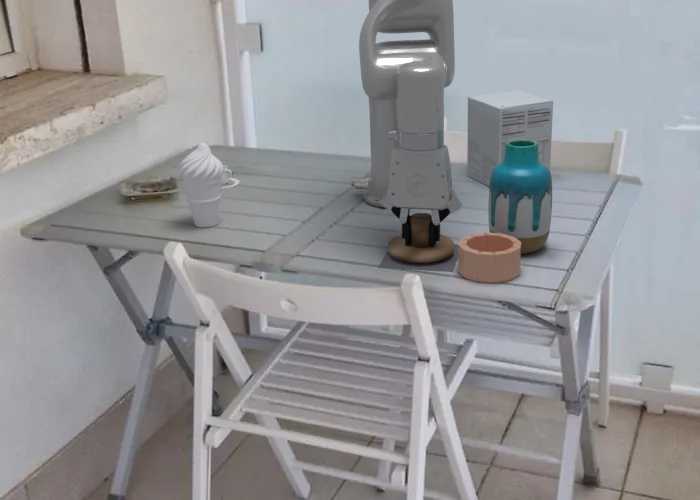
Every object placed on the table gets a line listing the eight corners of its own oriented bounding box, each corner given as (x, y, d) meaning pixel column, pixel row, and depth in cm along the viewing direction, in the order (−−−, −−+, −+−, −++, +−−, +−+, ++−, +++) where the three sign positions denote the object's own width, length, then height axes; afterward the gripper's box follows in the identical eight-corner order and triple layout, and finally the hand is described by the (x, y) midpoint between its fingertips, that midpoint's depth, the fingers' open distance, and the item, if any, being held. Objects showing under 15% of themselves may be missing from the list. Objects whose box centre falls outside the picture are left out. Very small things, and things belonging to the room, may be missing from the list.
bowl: (454, 284, 150) (454, 252, 148) (463, 261, 159) (463, 231, 157) (517, 288, 148) (518, 256, 146) (522, 264, 156) (523, 234, 154)
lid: (381, 260, 157) (381, 226, 155) (395, 235, 167) (395, 203, 165) (448, 264, 154) (448, 230, 152) (458, 239, 164) (458, 207, 162)
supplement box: (551, 182, 198) (555, 100, 192) (497, 192, 193) (499, 108, 187) (517, 167, 209) (520, 89, 203) (465, 175, 205) (466, 96, 199)
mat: (378, 270, 157) (378, 266, 156) (393, 243, 168) (393, 240, 167) (452, 274, 154) (452, 271, 153) (463, 247, 165) (463, 244, 164)
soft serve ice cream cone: (192, 234, 176) (184, 151, 170) (178, 221, 183) (170, 141, 177) (234, 226, 179) (227, 144, 174) (219, 214, 186) (212, 135, 181)
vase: (481, 241, 167) (483, 136, 160) (540, 238, 168) (544, 133, 161) (495, 264, 157) (497, 153, 150) (557, 260, 158) (562, 149, 151)
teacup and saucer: (194, 184, 207) (192, 167, 205) (224, 177, 212) (222, 159, 210) (217, 193, 201) (215, 174, 199) (247, 184, 206) (245, 166, 204)
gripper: (365, 143, 152) (368, 248, 159) (468, 147, 148) (466, 255, 155) (376, 131, 159) (378, 232, 166) (474, 134, 155) (472, 238, 162)
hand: (421, 242), depth 160 cm, fingers closed on lid, 3 cm apart
